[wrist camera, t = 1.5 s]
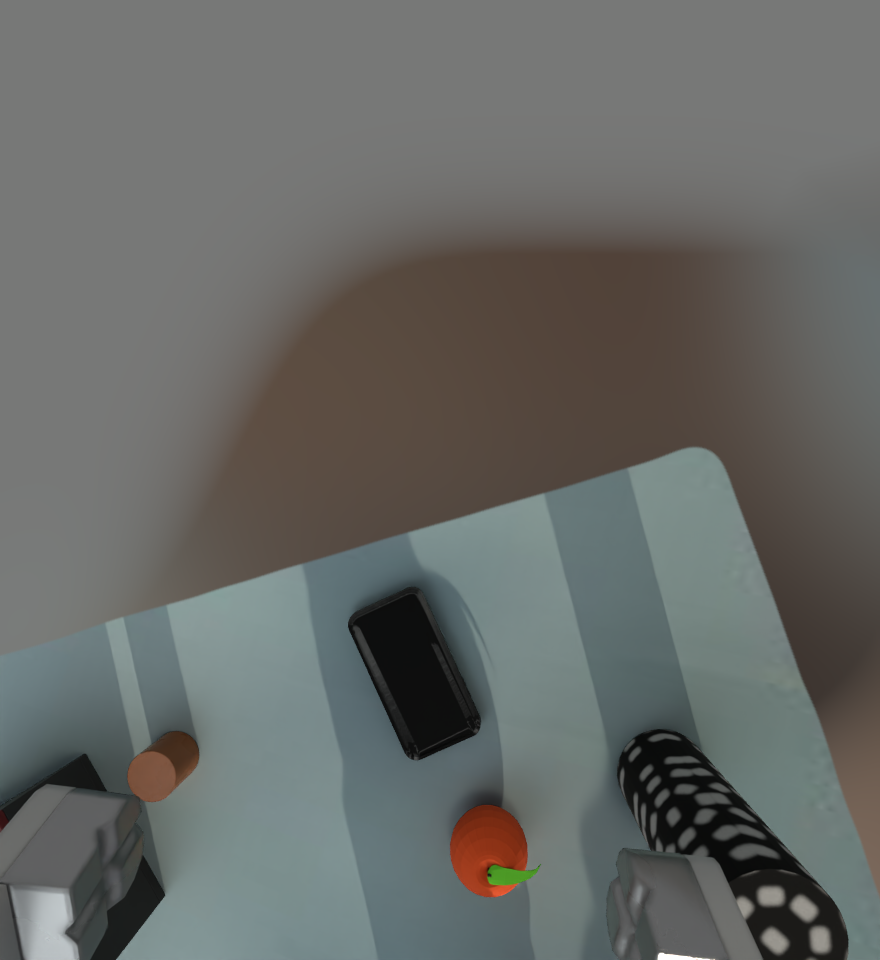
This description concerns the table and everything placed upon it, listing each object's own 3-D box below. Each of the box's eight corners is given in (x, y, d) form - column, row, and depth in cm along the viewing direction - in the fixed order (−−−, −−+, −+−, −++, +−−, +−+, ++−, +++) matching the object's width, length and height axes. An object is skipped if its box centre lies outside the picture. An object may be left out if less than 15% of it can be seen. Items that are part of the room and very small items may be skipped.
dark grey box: (165, 895, 56) (98, 982, 46) (56, 961, 56) (-34, 1061, 46) (85, 753, 57) (2, 808, 47) (-21, 819, 57) (-126, 887, 47)
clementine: (538, 796, 54) (549, 842, 47) (531, 870, 54) (540, 927, 47) (455, 785, 54) (452, 828, 47) (447, 857, 54) (443, 912, 47)
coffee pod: (199, 778, 56) (176, 802, 51) (154, 778, 56) (127, 802, 52) (198, 730, 56) (175, 751, 52) (153, 731, 56) (126, 751, 52)
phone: (410, 764, 53) (343, 618, 54) (411, 758, 55) (346, 616, 55) (485, 730, 53) (418, 584, 54) (485, 725, 54) (419, 582, 55)
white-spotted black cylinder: (598, 776, 54) (672, 943, 34) (656, 710, 53) (766, 839, 33) (667, 837, 53) (783, 1043, 33) (726, 771, 53) (879, 938, 33)
